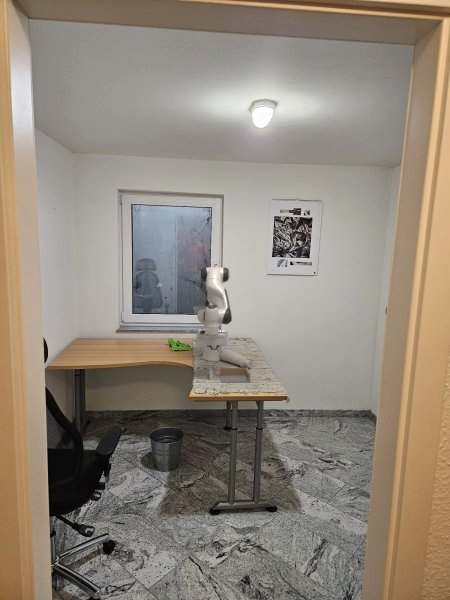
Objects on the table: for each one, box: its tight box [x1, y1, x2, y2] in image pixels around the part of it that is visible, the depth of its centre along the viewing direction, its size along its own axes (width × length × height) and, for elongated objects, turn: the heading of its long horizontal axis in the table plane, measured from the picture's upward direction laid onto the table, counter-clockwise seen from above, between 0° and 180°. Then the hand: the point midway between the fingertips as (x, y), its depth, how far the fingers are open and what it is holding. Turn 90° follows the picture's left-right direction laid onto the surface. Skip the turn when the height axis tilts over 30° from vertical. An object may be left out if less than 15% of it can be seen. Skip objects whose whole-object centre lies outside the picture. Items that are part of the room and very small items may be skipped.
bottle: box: [220, 348, 253, 369], centre depth 264 cm, size 9×9×30 cm
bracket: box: [208, 366, 217, 381], centre depth 232 cm, size 9×4×6 cm, turn 5°
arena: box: [219, 367, 251, 384], centre depth 231 cm, size 13×18×6 cm
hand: (211, 352), depth 231 cm, fingers open, 8 cm apart
